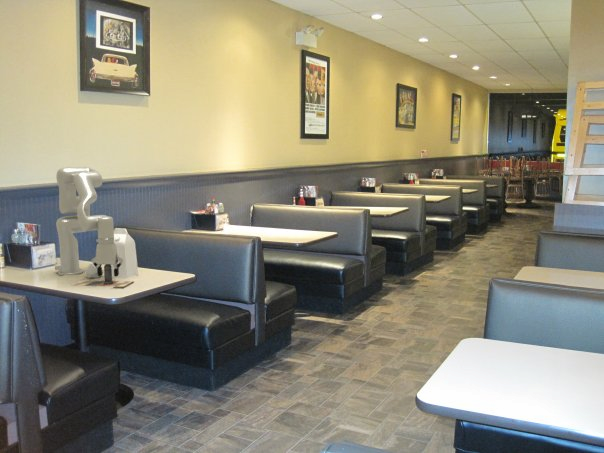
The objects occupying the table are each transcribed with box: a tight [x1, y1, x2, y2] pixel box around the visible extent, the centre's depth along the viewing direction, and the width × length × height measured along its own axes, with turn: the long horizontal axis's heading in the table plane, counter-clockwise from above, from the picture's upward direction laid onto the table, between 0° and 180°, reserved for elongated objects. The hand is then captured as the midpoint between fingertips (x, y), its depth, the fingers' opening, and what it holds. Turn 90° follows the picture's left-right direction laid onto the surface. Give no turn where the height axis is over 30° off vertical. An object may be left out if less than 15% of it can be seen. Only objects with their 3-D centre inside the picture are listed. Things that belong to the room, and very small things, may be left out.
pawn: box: [102, 264, 114, 285], centre depth 300 cm, size 5×5×10 cm
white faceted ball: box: [84, 263, 104, 279], centre depth 316 cm, size 8×9×10 cm
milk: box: [111, 227, 139, 279], centre depth 319 cm, size 12×12×26 cm
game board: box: [72, 280, 135, 289], centre depth 301 cm, size 28×13×1 cm, turn 83°
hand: (108, 275), depth 300 cm, fingers open, 8 cm apart
